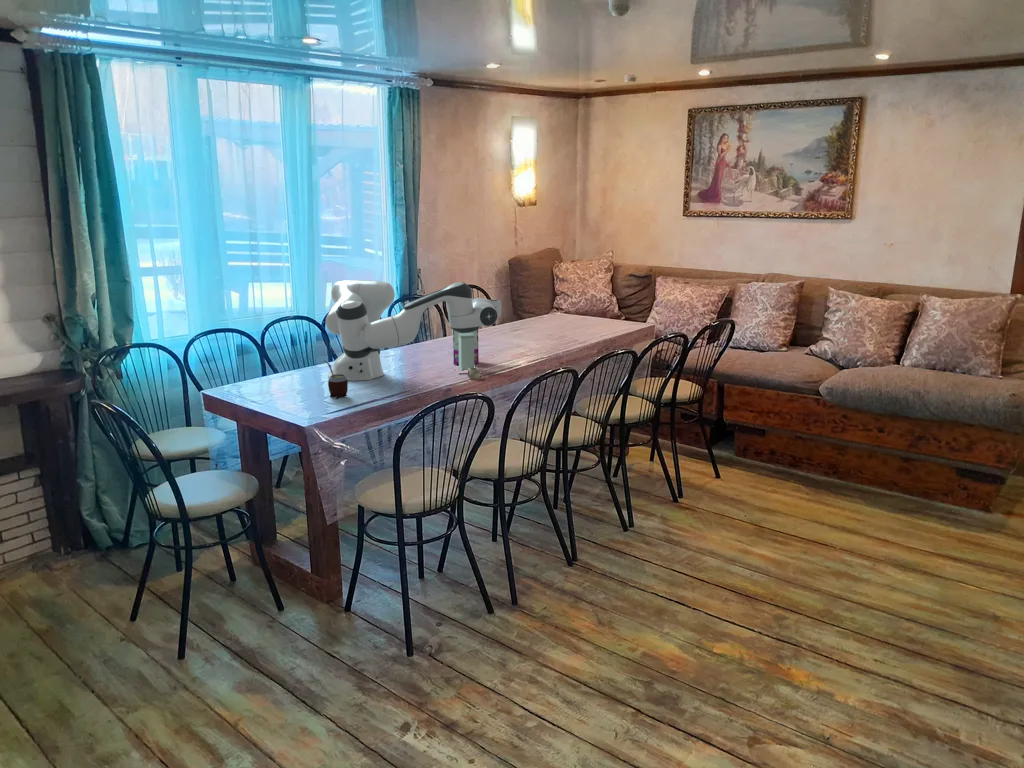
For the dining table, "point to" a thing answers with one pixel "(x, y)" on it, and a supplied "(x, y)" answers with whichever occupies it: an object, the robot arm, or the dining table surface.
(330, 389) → the mate gourd
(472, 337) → the tea tin
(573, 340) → the dining table surface
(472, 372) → the letter cube
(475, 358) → the candy bar box
